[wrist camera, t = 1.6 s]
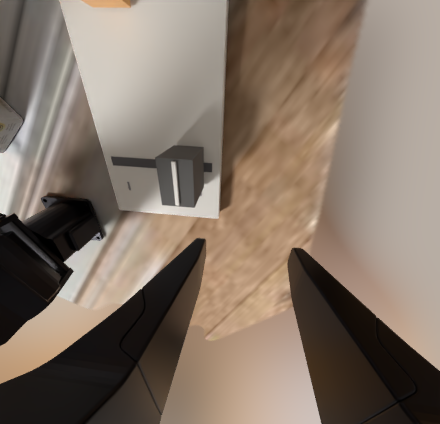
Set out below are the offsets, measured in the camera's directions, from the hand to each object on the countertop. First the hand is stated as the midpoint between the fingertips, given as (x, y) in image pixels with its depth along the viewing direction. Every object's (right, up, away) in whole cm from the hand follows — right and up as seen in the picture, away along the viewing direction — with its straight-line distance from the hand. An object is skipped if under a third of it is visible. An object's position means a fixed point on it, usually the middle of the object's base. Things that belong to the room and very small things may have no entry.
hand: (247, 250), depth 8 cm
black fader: (-4, +6, +10) cm, 12 cm away
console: (-7, +13, +8) cm, 17 cm away
